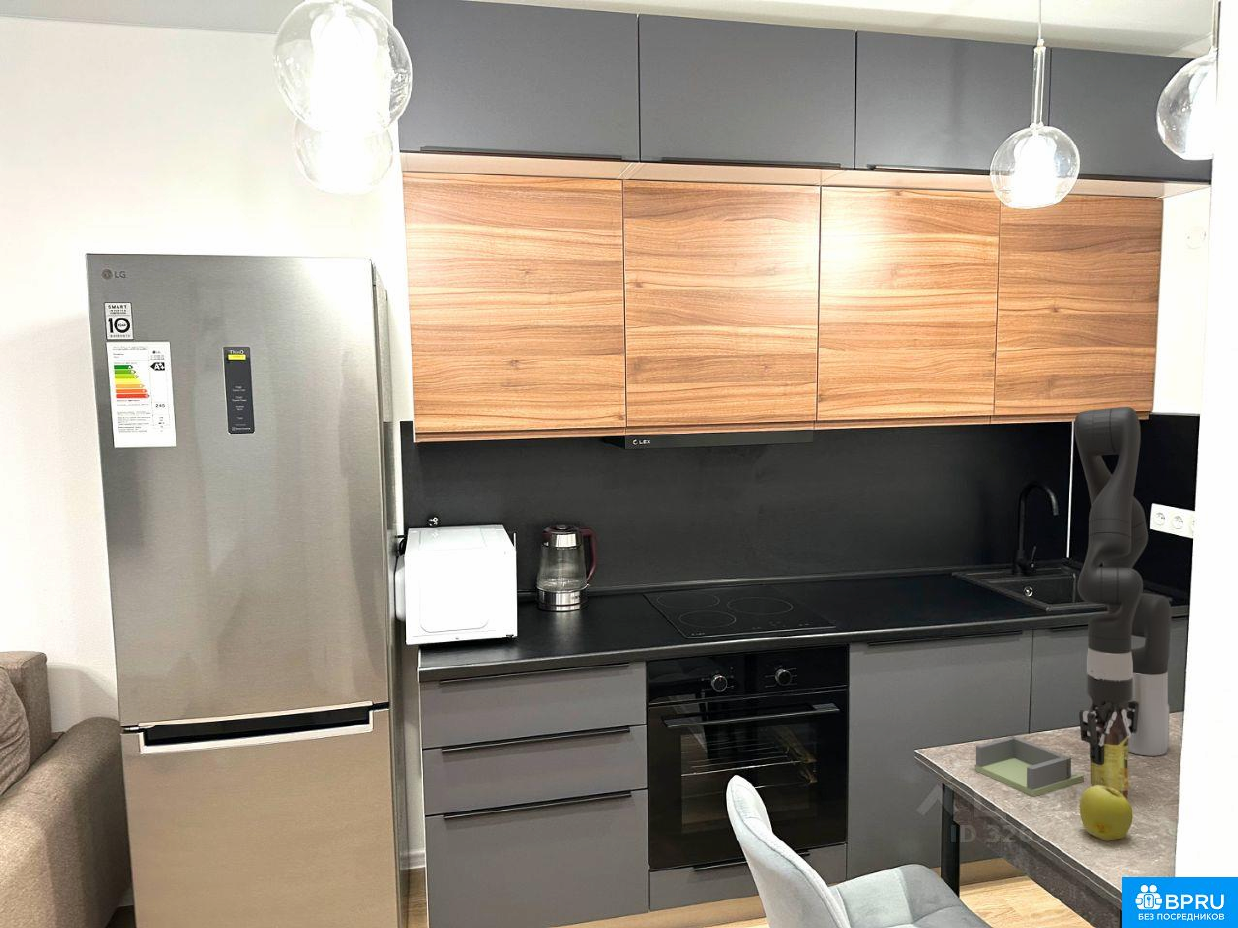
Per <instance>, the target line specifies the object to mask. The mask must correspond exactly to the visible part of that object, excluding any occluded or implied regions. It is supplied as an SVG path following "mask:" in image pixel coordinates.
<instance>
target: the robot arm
mask: <svg viewBox="0 0 1238 928" xmlns="http://www.w3.org/2000/svg"><path fill="white" fill-rule="evenodd" d="M1137 413H1138V412H1136V410H1135V409H1134V408H1133V407H1130V406H1119V407H1110V408H1109V407H1108V408H1100V409H1091V410H1084V411H1080V412H1078V413H1077V414H1076V416H1075V418H1074V426H1073V427H1074V429H1073V430H1074V437H1075V443H1076V445H1077V450H1078V454H1079V457H1080V461H1081V464H1082V468H1083V472H1084V476H1085V480H1086V482H1087V483H1086V484H1087V487H1088V492H1089V493H1088V494H1089V499H1090V505H1091V508H1090V512H1089V517H1088V521H1089V522H1088V547H1087V553H1086V556H1085V560H1084V563H1083V566H1082V569H1081V571H1080V573H1079V577H1078V580H1077V584H1076V585H1077V593H1078V595H1079V596H1080V599H1081V600H1082V601H1084V602H1085V603H1087V604H1092V605H1093V604H1094V605H1106V608H1107V614H1103V615H1095V616H1093V617H1091V618H1090V619H1089V620H1088V628H1087V629H1088V631H1087V632H1088V635H1087V637H1088V638H1087V639H1088V641H1087V642H1088V643H1087V644H1088V647H1087V648H1088V649H1087V650H1088V651H1087V657H1086V694H1087V695H1088V697H1089V698H1090V699H1091V705H1090V709H1089V710H1082V709H1080V711H1078V712H1079V713H1078V715H1079V727H1080V729H1079V730H1080V739H1081V741H1083V742H1086V743H1089V750H1090V751H1089V752H1090V753H1089V758H1090V759H1091V760H1090V763H1091V762H1093V763H1095V764H1098V765H1103V764H1104V746H1103V744H1104V741H1105V738H1106V735H1109V734H1110V731H1111V727H1112V724H1113V722H1114V721H1115V719H1116V716H1117V713H1116V712H1115V711H1113V710H1111V709H1112V703H1119V714H1120V716H1121V718H1122V720H1123V723H1124V725H1125V728H1126V731H1127V734H1128V753H1131V754H1136V755H1143V756H1153V757H1154V756H1155V757H1156V756H1161V755H1162V756H1163V755H1165V754H1167V752H1168V749H1169V748H1170V704H1169V703H1168V693H1169V692H1168V684H1169V683H1168V682H1169V681H1168V680H1169V678H1168V676H1169V675H1168V674H1169V671H1168V669H1169V667H1168V666H1169V658H1170V645H1171V643H1170V642H1171V632H1172V631H1171V629H1172V607H1171V604H1170V603H1171V602H1169V599H1168V598H1167V597H1165V596H1163V595H1158V594H1152V593H1144V592H1143V589H1144V581H1143V577H1142V576H1141V575H1140V573H1139V571H1137V570H1135V569H1134V568H1133V567H1134V565H1135V564H1136V562H1137V561H1138V559H1139V558H1140V556H1142V554H1143V552H1144V550H1145V548H1146V546H1147V544H1148V541H1149V533H1148V526H1147V522H1146V521H1147V520H1146V515H1145V514H1146V513H1145V511H1144V508H1143V506H1142V505H1141V503H1140V502H1139V500H1137V498H1136V497H1135V496H1134V490H1135V484H1136V478H1137V473H1138V471H1137V470H1138V463H1139V455H1140V448H1141V433H1142V431H1141V424H1140V420H1139V415H1138V414H1137ZM1110 455H1113V456H1115V455H1118V459H1117V460H1118V461H1117V464H1116V466H1115V469H1114V471H1113V473H1111V472H1110V470H1109V469H1108V467H1107V466H1106V463H1105V461H1104V460H1103V457H1102V456H1110ZM1101 564H1102V566H1101ZM1132 636H1133V637H1139V638H1145V640H1144V641H1145V642H1144V645H1143V646H1142V647H1137V648H1132ZM1096 722H1097V723H1098V724H1101V725H1103V726H1105V727H1104V728H1099V727H1096ZM1097 731H1098V732H1100V735H1099V738H1097Z"/></svg>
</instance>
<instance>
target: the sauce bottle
mask: <svg viewBox="0 0 1238 928" xmlns="http://www.w3.org/2000/svg"><path fill="white" fill-rule="evenodd" d="M1111 710H1113V711H1115V712H1116V713H1117V716H1116V719H1115V721H1114V722H1113V724H1112V727H1111V731H1110V734H1109V735H1106V738H1105V741H1104V744H1103V746H1104V764H1103V765H1098V764H1095V763H1093V762H1091V759H1090V784H1091V787H1092V786H1096V785H1101V786H1106V785H1107V787H1111V788H1114V789H1116V790H1118V791H1119V792H1120V793H1121V794H1122V795H1123V796H1124V797H1125V798H1126V799H1127V797H1128V789H1129V752H1128V734H1127V731H1126V728H1125V725H1124V723H1123V720H1122V718H1121V716H1120V714H1119V703H1112V709H1111ZM1096 727H1099V728H1104V727H1105V726H1103V725H1101V724H1098V723H1097V722H1096ZM1099 735H1100V732H1098V731H1097V738H1099ZM1101 778H1103V780H1104V781H1103V780H1102V779H1101ZM1104 782H1105V783H1104Z"/></svg>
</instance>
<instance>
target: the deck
mask: <svg viewBox="0 0 1238 928" xmlns="http://www.w3.org/2000/svg"><path fill="white" fill-rule="evenodd" d="M974 771H975V772H976V773H979V774H982V775H983V776H987V777H989V778H991V779H993V780H995V781H998V782H1000V783H1002V784H1004V785H1006V786H1009V787H1011V788H1013V789H1016V790H1018V791H1019V792H1022V793H1025V794H1026V795H1029V796H1031V797H1037V796H1038V797H1039V796H1041V795H1044V794H1047V793H1050V792H1053V791H1056V790H1061V789H1063V788H1066V787H1070V786H1073V785H1076V784H1079V783H1083V782H1084V781H1085V775H1084V774H1081V773H1079V772H1078V771H1076V770H1074V769H1072V758H1071V757H1069V756H1067V755H1064V754H1061V753H1059V752H1056V751H1054V750H1051V749H1049V748H1046V747H1043V746H1040V745H1038V744H1035V743H1033V742H1030V741H1027V740H1025V739H1023V738H1020V737H1018V736H1015V735H1011V736H1008V737H1005V738H1000V739H997V740H993V741H990V742H989V741H988V742H986V743H982V744H978V745H976V746H975V764H974Z"/></svg>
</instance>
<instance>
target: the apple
mask: <svg viewBox="0 0 1238 928" xmlns="http://www.w3.org/2000/svg"><path fill="white" fill-rule="evenodd" d="M1101 779H1102V780H1103V778H1101ZM1103 781H1104V780H1103ZM1104 783H1105V782H1104ZM1080 797H1081V798H1080V801H1079V814H1080V819H1081V822H1082V825H1083V827H1084V828H1085V830H1086V831H1087V833H1089V834H1090V835H1092V836H1094V837H1096V838H1098V839H1099V840H1102V841H1115V840H1120V839H1123V838H1124V837H1125V836H1127V833H1128V832H1129V831H1130V828H1131V826H1132V822H1133V808H1132V806H1131V804H1130V802H1129V801H1128V800H1127V797H1126V798H1125V797H1124V796H1123V795H1122V794H1121V793H1120V792H1119V791H1118V790H1116V789H1114V788H1111V787H1107V785H1106V786H1101V785H1096V786H1092V785H1091V786H1090V787H1088V788H1087V789H1086V790H1085V791H1084V792H1082V794H1081V796H1080Z"/></svg>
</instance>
